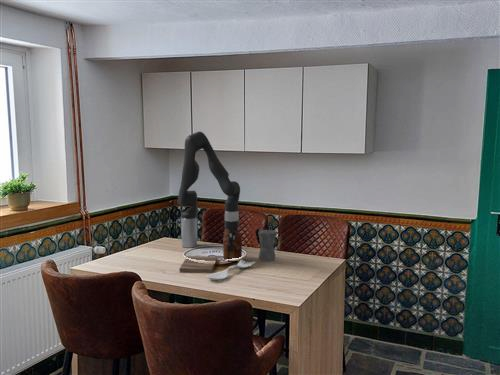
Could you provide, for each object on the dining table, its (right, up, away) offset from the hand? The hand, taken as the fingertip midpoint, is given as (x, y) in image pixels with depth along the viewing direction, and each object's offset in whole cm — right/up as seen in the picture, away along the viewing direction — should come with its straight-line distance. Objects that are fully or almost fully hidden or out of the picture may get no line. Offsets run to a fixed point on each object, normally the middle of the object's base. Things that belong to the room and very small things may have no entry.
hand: (231, 249), depth 259 cm
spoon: (0, -9, -21) cm, 23 cm away
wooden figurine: (0, -6, +1) cm, 6 cm away
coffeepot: (+18, -6, +4) cm, 19 cm away
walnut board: (-17, -7, -9) cm, 20 cm away
